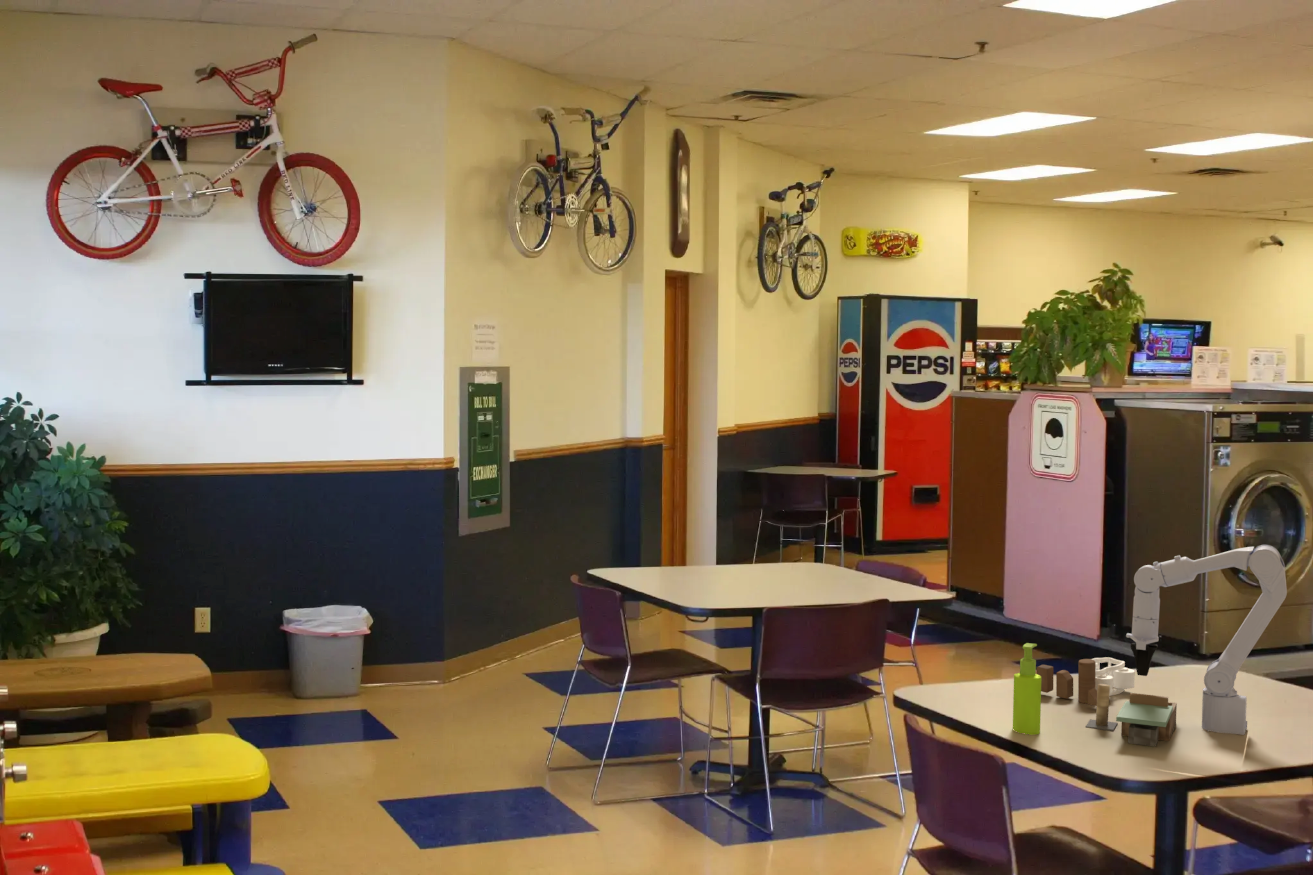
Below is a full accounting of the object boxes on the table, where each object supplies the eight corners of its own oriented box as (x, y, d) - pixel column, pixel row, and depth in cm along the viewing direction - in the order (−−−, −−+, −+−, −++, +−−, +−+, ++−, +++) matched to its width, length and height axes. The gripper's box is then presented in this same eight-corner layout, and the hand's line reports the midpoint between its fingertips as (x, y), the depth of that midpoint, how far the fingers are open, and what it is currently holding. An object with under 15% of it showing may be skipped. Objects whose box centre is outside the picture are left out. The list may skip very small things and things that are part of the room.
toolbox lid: (1172, 710, 295) (1173, 697, 295) (1165, 727, 280) (1166, 713, 280) (1125, 705, 299) (1126, 692, 299) (1116, 721, 285) (1116, 707, 285)
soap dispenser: (1044, 731, 296) (1046, 643, 295) (1036, 738, 290) (1038, 648, 289) (1017, 727, 299) (1020, 640, 298) (1009, 734, 293) (1011, 645, 292)
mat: (1117, 724, 303) (1117, 722, 303) (1113, 731, 297) (1113, 729, 297) (1090, 721, 306) (1090, 719, 305) (1085, 727, 299) (1085, 726, 299)
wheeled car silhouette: (1102, 704, 322) (1102, 674, 322) (1061, 695, 331) (1061, 666, 330) (1141, 691, 336) (1142, 663, 336) (1101, 683, 344) (1102, 656, 344)
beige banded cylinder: (1110, 724, 301) (1112, 685, 300) (1102, 726, 299) (1105, 686, 299) (1100, 722, 303) (1102, 683, 302) (1093, 723, 301) (1095, 684, 301)
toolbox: (1176, 724, 303) (1176, 702, 303) (1166, 747, 284) (1167, 724, 283) (1130, 718, 308) (1130, 697, 308) (1117, 741, 288) (1118, 719, 288)
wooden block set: (1032, 698, 327) (1032, 658, 326) (1050, 690, 333) (1050, 650, 332) (1099, 714, 314) (1099, 672, 313) (1117, 705, 320) (1117, 664, 319)
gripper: (1131, 610, 315) (1128, 666, 315) (1123, 620, 302) (1120, 678, 302) (1162, 613, 311) (1159, 670, 312) (1156, 623, 299) (1152, 683, 299)
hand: (1142, 675), depth 307 cm, fingers closed
